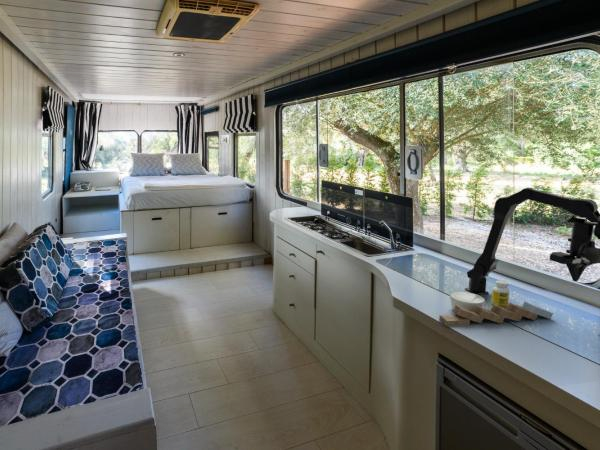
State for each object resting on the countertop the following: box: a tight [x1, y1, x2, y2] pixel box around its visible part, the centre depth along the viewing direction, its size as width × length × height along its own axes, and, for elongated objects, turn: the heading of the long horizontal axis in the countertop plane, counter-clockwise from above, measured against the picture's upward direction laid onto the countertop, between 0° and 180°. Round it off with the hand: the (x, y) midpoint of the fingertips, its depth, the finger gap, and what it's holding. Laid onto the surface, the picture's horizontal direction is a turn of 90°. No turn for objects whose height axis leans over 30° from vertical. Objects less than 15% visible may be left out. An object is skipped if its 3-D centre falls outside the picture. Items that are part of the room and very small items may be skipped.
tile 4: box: [452, 305, 484, 324], centre depth 137 cm, size 5×2×8 cm
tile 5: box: [438, 313, 471, 327], centre depth 137 cm, size 5×2×8 cm
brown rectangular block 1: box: [490, 305, 523, 323], centre depth 139 cm, size 5×2×8 cm
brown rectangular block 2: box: [507, 302, 538, 321], centre depth 141 cm, size 5×2×8 cm
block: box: [521, 301, 554, 320], centre depth 142 cm, size 5×2×8 cm
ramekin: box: [449, 291, 486, 311], centre depth 146 cm, size 11×11×5 cm
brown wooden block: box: [473, 305, 505, 325], centre depth 138 cm, size 5×2×8 cm
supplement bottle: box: [490, 279, 510, 309], centre depth 149 cm, size 5×5×10 cm
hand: (575, 281), depth 142 cm, fingers closed
